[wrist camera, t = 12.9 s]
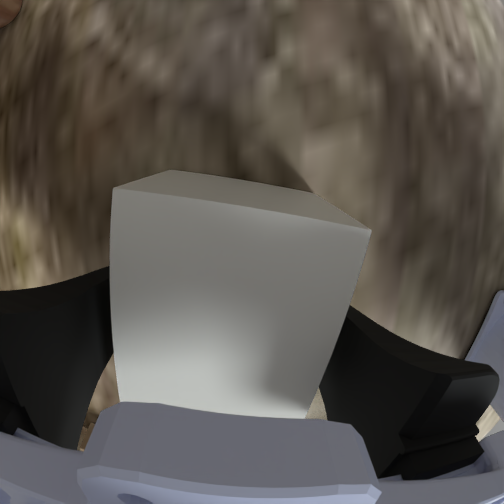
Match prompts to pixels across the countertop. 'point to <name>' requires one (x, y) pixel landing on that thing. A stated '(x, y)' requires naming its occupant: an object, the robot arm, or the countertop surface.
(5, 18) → the cupcake
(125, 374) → the white rectangular block
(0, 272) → the countertop surface
